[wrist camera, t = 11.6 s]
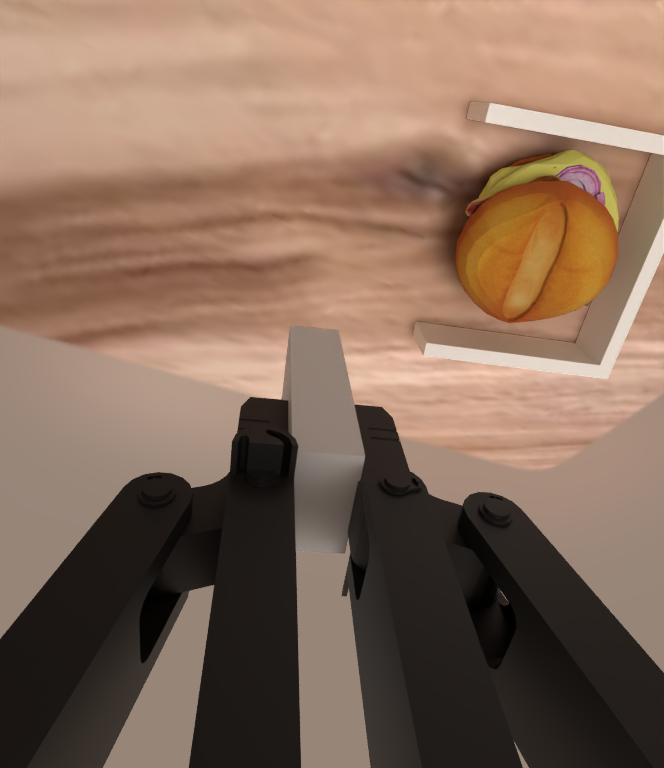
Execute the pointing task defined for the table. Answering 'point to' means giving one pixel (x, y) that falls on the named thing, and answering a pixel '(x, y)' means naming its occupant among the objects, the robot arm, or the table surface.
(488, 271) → the cheeseburger
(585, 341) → the box
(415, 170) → the table surface
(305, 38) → the table surface
